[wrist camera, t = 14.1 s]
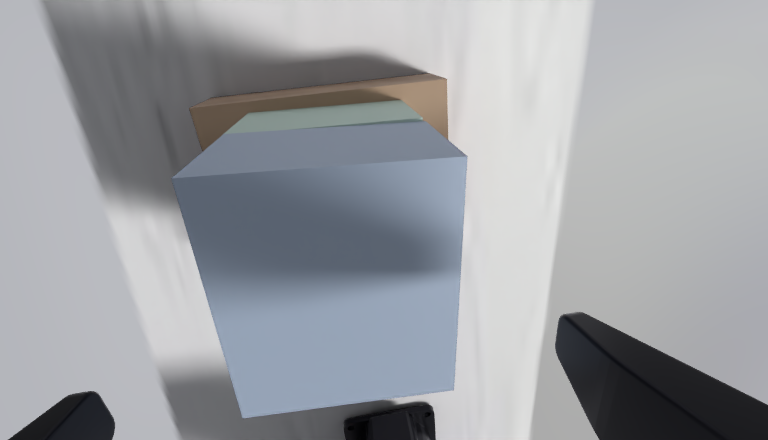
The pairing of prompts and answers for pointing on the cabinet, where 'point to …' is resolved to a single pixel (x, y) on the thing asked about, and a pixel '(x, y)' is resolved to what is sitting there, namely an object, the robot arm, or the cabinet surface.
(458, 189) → the slate block
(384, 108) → the sage block
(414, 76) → the walnut block
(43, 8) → the cabinet surface
